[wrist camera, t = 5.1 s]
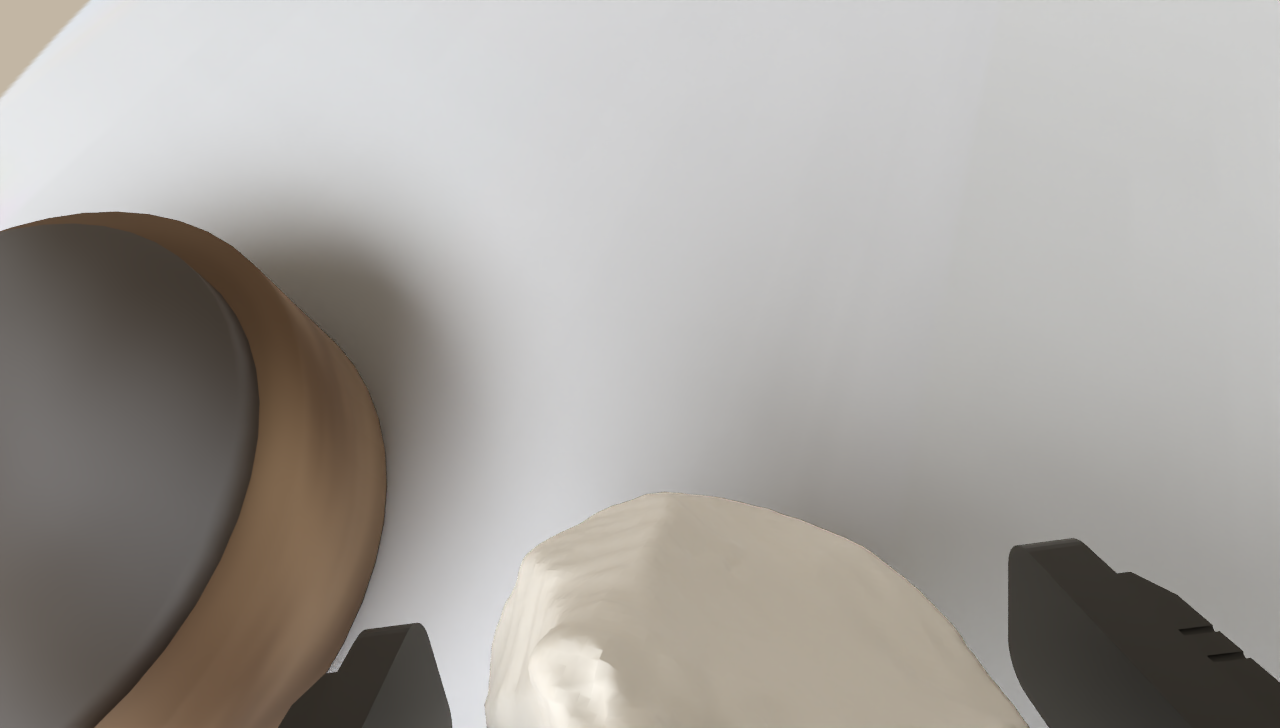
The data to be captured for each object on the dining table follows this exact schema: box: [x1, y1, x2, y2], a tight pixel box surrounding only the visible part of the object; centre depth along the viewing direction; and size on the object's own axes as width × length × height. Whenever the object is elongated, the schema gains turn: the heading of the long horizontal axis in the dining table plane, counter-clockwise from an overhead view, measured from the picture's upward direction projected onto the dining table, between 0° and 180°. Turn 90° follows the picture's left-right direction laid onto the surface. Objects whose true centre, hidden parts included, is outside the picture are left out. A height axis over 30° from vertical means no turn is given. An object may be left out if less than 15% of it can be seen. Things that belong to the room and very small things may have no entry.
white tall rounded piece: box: [484, 492, 1029, 728], centre depth 10 cm, size 6×12×6 cm
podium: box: [0, 212, 387, 728], centre depth 16 cm, size 15×15×5 cm
